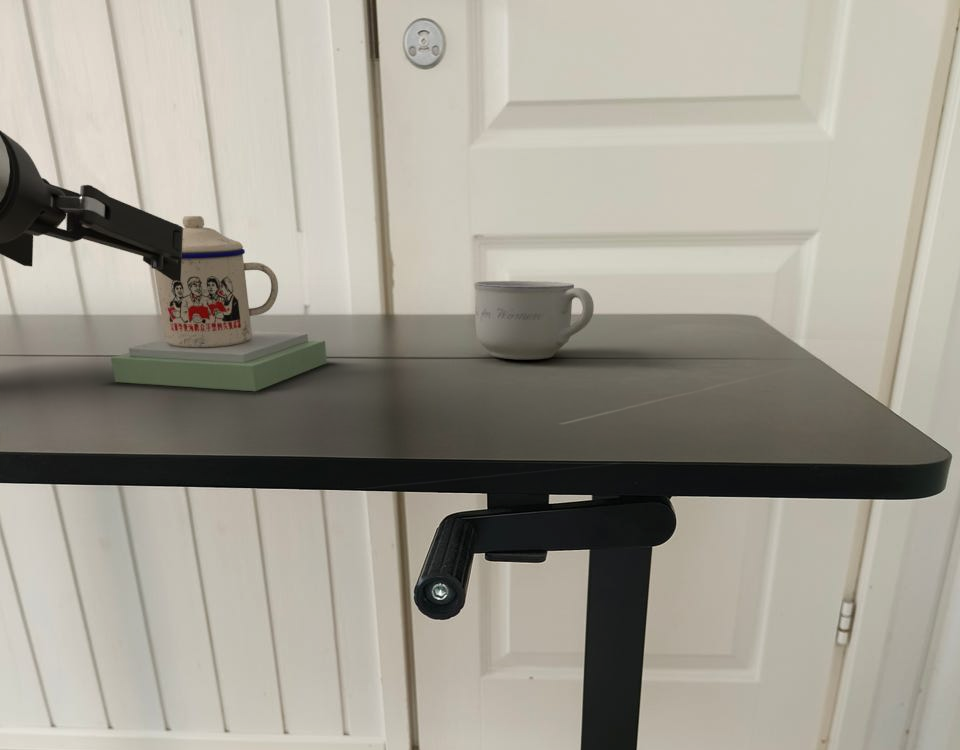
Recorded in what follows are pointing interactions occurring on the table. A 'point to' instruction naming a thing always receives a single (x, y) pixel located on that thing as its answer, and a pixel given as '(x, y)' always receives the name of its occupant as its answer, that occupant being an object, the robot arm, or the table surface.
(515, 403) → the table surface
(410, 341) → the table surface
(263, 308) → the teacup with lid
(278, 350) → the scale
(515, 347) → the teacup
